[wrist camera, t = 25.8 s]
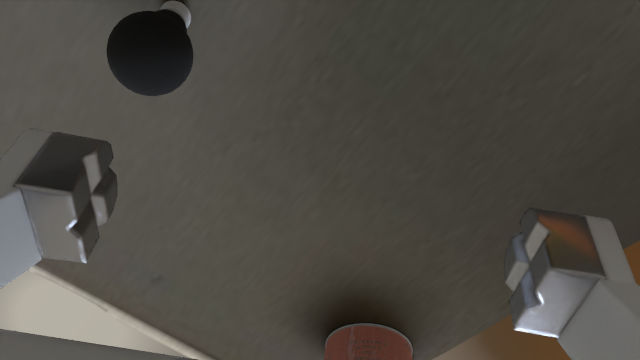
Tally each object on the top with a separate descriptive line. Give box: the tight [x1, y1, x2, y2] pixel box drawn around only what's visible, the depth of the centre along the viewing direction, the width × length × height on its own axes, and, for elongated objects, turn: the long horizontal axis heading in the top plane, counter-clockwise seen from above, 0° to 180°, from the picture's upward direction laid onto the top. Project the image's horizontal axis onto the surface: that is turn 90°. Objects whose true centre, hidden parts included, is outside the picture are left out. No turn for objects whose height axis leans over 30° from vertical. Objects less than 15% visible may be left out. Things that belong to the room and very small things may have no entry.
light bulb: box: [107, 1, 193, 96], centre depth 43 cm, size 6×6×10 cm
